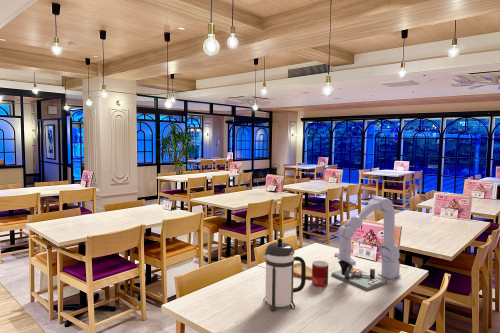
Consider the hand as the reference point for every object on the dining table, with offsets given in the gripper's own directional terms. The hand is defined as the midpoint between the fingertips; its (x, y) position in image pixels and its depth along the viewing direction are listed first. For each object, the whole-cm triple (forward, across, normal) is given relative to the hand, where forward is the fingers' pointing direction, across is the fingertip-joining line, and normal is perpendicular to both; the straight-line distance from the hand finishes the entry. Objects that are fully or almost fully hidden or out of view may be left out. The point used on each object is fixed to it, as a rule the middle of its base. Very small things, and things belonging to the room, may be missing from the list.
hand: (344, 274), depth 180 cm
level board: (+3, +2, +8) cm, 9 cm away
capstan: (+1, +1, +6) cm, 6 cm away
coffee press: (+3, +10, -43) cm, 44 cm away
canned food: (+3, -1, -15) cm, 15 cm away
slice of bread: (+4, -17, -14) cm, 23 cm away
